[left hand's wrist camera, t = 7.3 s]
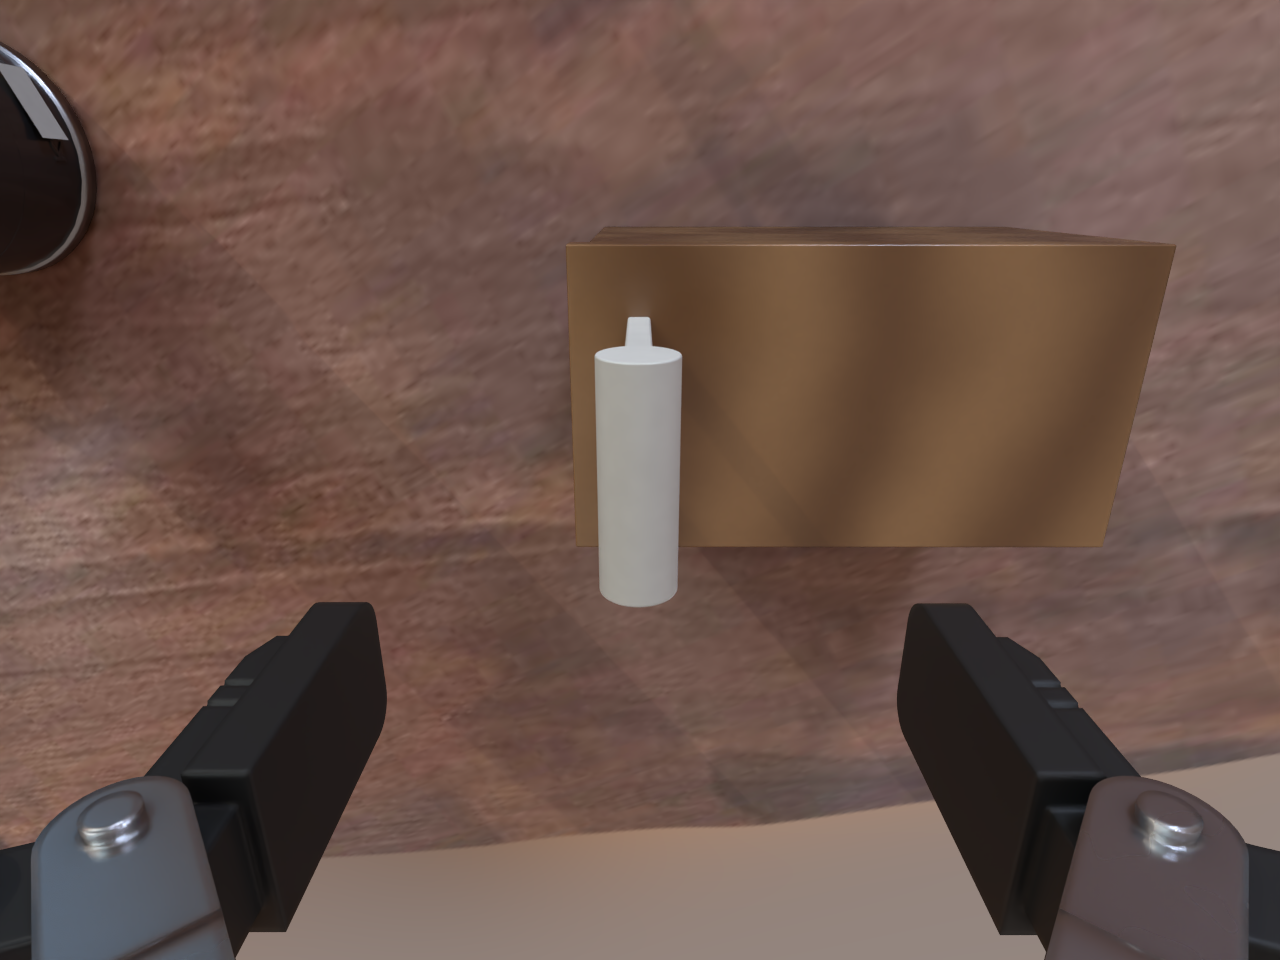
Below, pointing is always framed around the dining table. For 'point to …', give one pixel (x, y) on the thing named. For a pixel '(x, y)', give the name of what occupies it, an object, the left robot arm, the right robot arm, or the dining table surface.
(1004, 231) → the chest
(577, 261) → the lid
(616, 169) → the dining table surface
